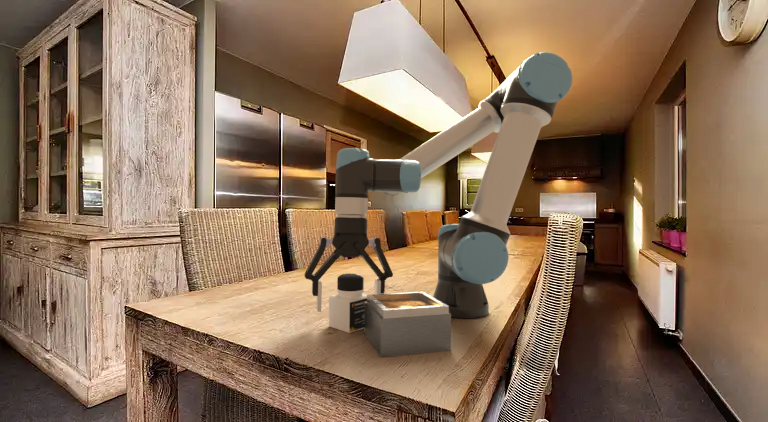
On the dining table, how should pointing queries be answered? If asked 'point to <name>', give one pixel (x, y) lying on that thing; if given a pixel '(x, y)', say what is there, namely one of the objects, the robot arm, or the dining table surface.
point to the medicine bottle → (348, 304)
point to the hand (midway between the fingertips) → (348, 308)
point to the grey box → (407, 323)
